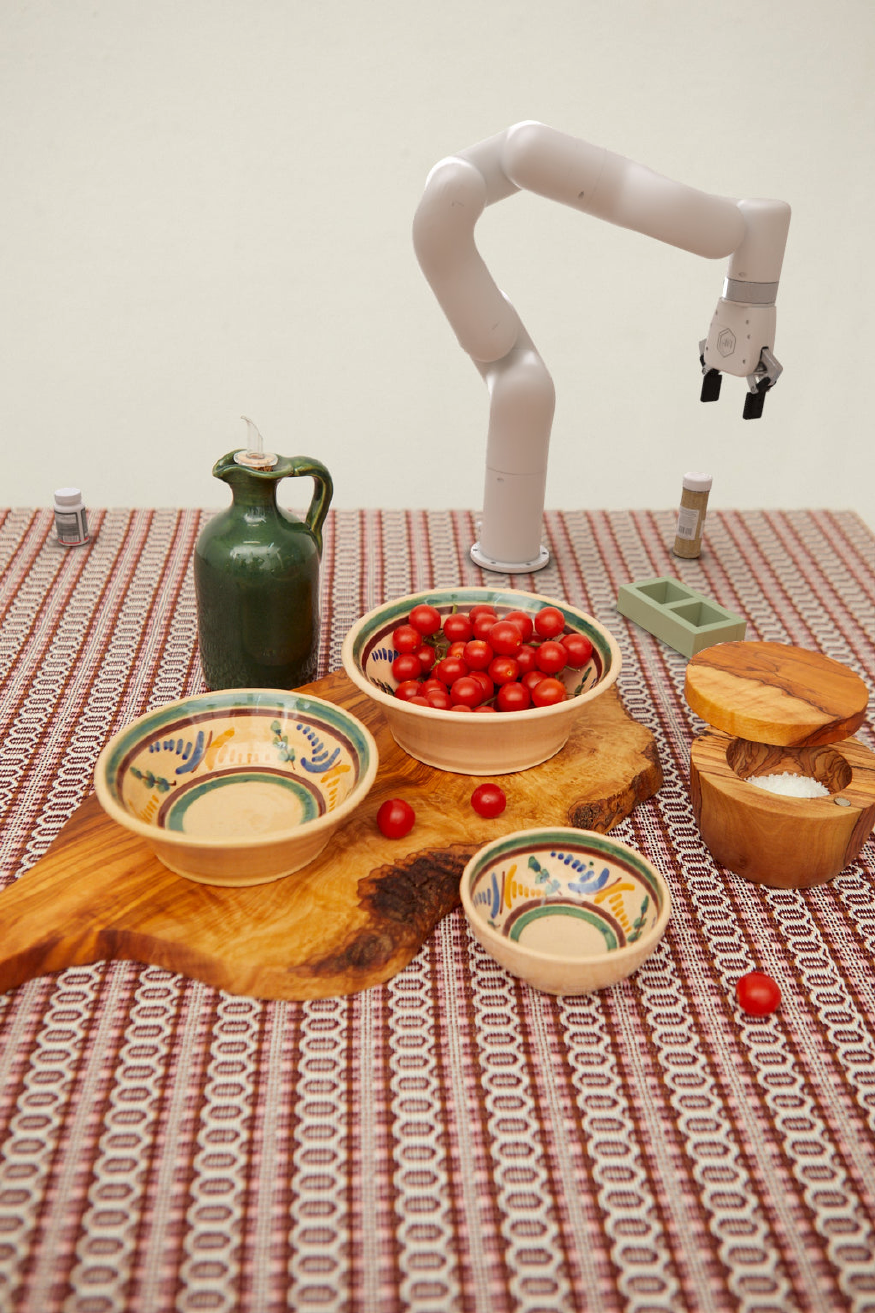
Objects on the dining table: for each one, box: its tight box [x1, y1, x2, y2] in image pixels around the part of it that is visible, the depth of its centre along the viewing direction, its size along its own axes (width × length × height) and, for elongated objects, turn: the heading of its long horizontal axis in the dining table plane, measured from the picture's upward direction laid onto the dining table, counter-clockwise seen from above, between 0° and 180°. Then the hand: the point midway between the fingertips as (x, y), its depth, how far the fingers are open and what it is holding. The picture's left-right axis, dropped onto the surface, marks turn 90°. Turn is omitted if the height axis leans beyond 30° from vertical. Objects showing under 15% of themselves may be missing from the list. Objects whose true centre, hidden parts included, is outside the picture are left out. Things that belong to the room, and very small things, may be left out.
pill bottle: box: [53, 487, 90, 547], centre depth 173 cm, size 5×5×8 cm
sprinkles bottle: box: [672, 471, 713, 559], centre depth 177 cm, size 5×5×14 cm
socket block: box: [616, 574, 748, 660], centre depth 155 cm, size 9×17×4 cm, turn 28°
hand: (729, 409), depth 165 cm, fingers open, 9 cm apart
